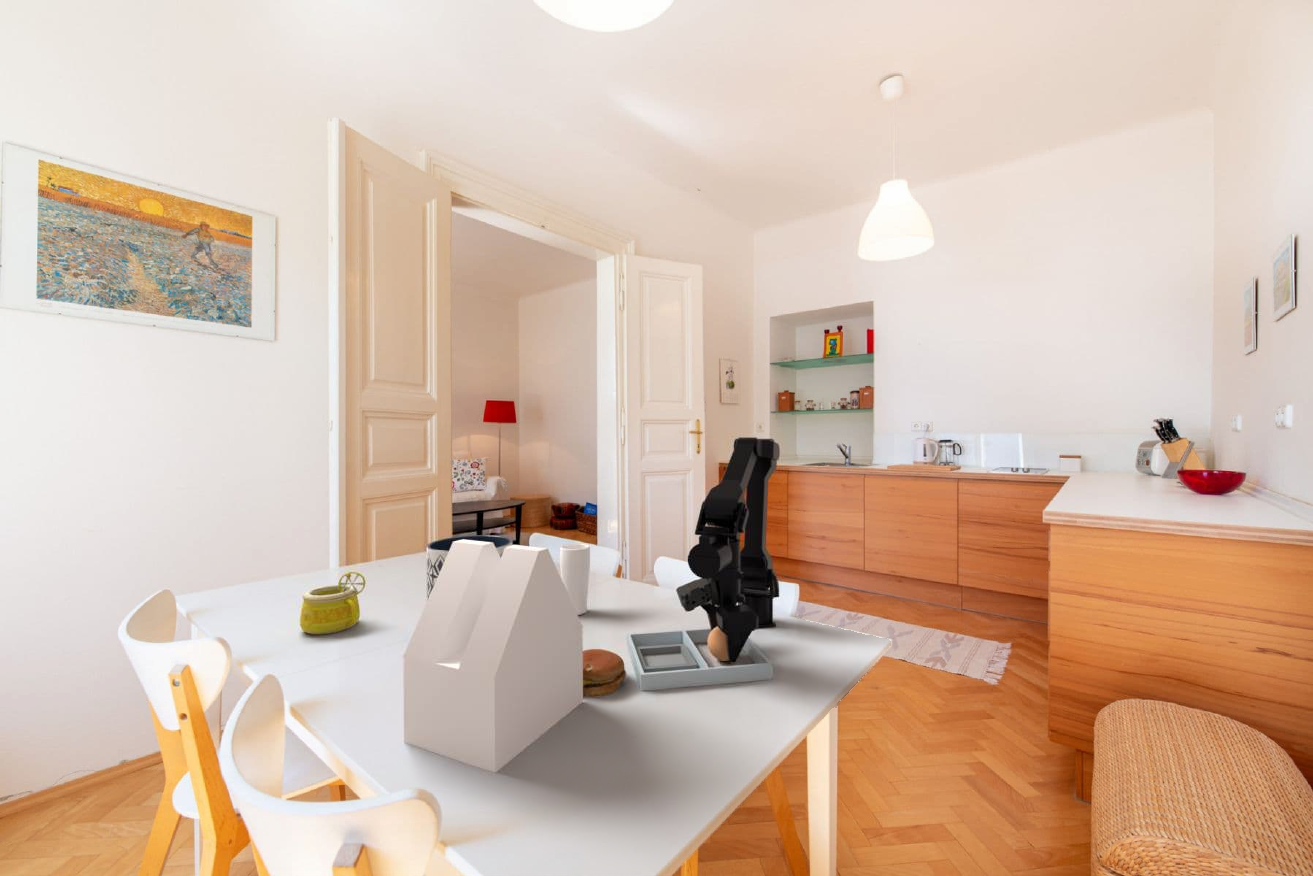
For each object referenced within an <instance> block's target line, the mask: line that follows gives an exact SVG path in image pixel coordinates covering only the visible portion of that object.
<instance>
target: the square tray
mask: <svg viewBox="0 0 1313 876" xmlns="http://www.w3.org/2000/svg"><path fill="white" fill-rule="evenodd" d="M635 649H636V652H637V655H638V658H639V660H640V663H641V666H642V669H643V671H644V673H650V672H662V671H674V670H687V669H698V665H697V663H696V662H695V660H694V658H693V657H692V655H691V653H690V652H689V650H688V648H687V647H686V645H685V643H684V644H670V645H657V646H643V647H635Z"/></svg>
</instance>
